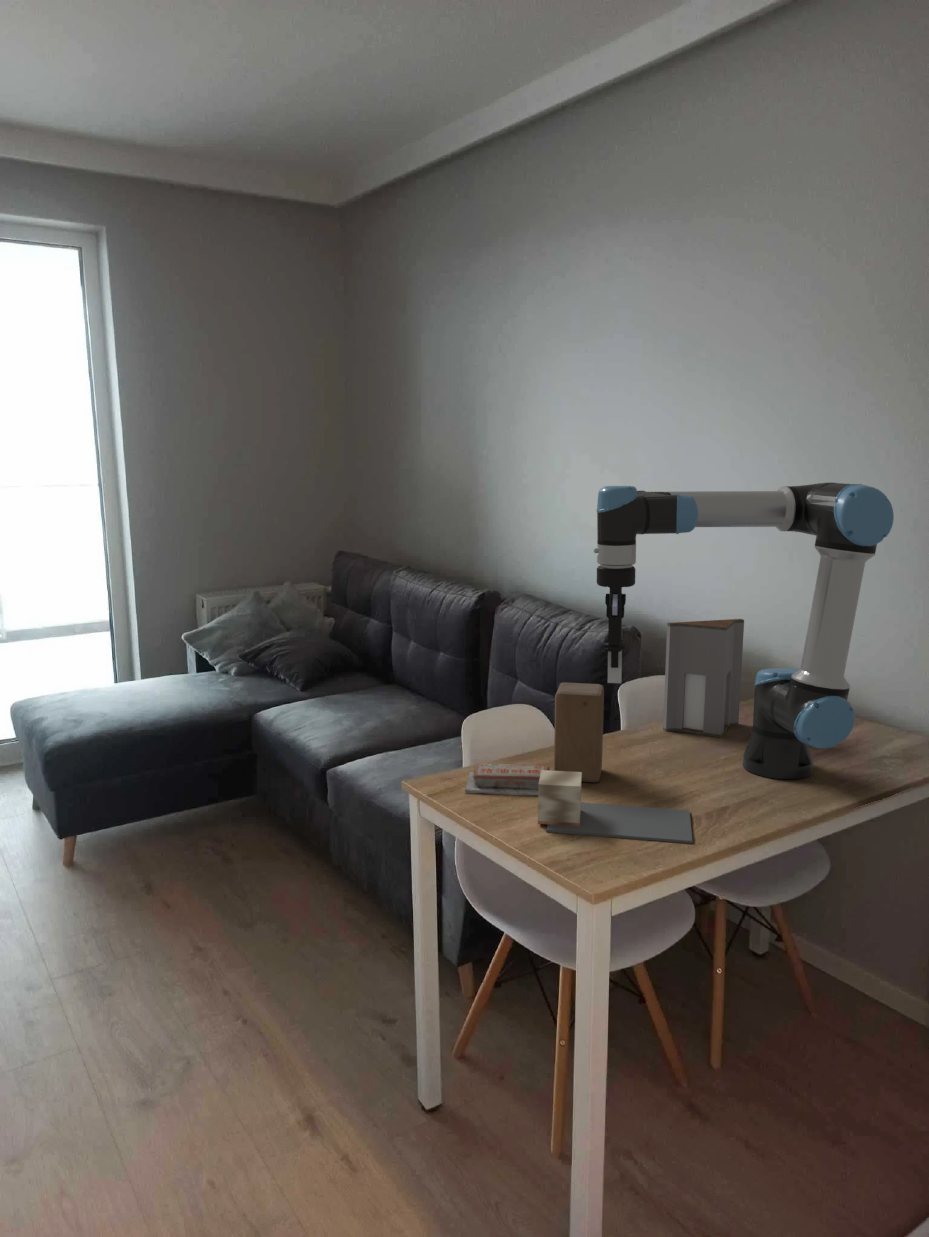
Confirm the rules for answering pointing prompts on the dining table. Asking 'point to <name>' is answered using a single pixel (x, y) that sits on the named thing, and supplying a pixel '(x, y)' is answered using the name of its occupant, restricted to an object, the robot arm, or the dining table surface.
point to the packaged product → (504, 779)
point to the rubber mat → (630, 823)
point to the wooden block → (579, 729)
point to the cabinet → (703, 676)
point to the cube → (559, 798)
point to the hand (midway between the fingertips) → (614, 682)
